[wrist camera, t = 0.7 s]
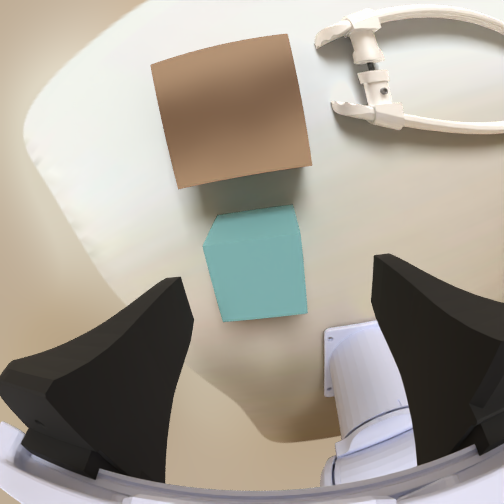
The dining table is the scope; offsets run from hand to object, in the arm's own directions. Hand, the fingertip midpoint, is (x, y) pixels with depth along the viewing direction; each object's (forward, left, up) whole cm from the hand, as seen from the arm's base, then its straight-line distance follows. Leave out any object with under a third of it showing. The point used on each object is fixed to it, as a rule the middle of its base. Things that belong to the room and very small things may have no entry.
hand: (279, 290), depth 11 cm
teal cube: (-2, +1, -10) cm, 10 cm away
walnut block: (+7, +1, -10) cm, 12 cm away
